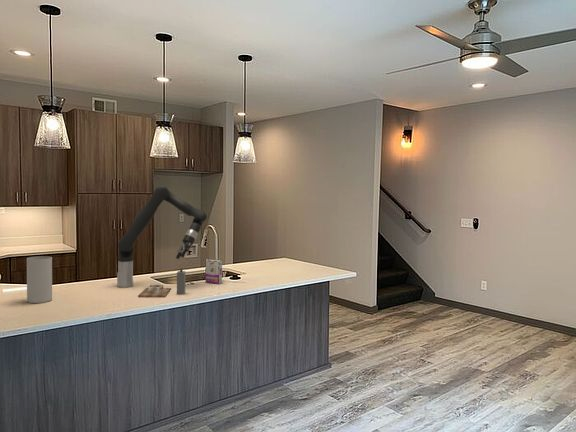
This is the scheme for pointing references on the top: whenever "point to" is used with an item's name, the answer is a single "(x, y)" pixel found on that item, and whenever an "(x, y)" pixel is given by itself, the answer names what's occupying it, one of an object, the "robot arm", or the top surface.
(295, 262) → the top surface
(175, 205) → the robot arm
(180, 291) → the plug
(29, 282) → the cylinder vase
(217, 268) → the candy bar box
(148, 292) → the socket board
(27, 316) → the top surface
